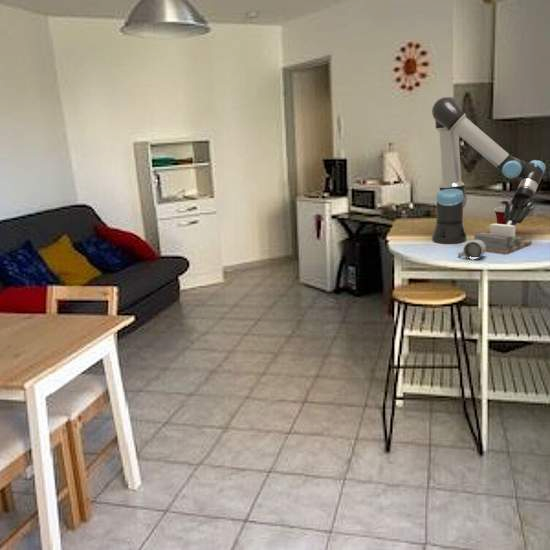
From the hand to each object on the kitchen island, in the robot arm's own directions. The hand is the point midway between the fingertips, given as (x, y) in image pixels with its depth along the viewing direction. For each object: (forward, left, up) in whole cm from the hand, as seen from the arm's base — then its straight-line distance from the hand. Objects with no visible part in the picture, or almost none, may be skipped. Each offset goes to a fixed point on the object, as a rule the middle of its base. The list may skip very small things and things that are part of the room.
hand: (505, 234), depth 249 cm
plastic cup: (+11, +26, -5) cm, 29 cm away
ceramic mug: (-21, -16, -5) cm, 27 cm away
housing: (-2, -2, -5) cm, 6 cm away
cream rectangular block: (-2, -2, -3) cm, 4 cm away
